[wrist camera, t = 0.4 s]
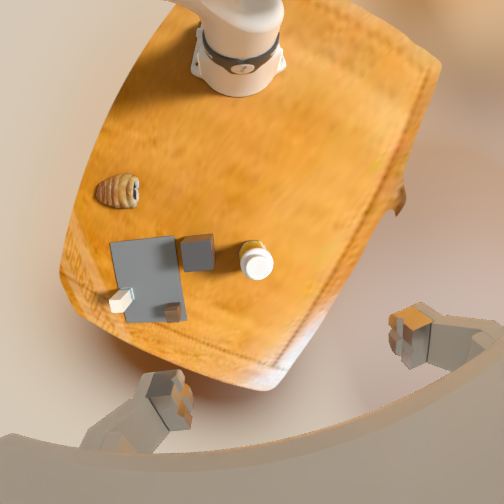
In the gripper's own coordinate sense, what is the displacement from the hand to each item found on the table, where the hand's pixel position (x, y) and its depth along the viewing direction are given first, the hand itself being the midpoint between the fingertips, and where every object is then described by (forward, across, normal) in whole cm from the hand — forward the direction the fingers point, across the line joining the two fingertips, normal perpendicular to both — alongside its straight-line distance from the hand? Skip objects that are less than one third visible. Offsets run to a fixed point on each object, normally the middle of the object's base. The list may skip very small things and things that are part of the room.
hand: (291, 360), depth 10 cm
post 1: (+44, +27, +8) cm, 52 cm away
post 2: (+44, +18, +14) cm, 50 cm away
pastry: (+45, +22, -12) cm, 51 cm away
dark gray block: (+44, +9, +3) cm, 45 cm away
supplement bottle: (+45, 0, +7) cm, 45 cm away
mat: (+44, +22, +7) cm, 50 cm away
